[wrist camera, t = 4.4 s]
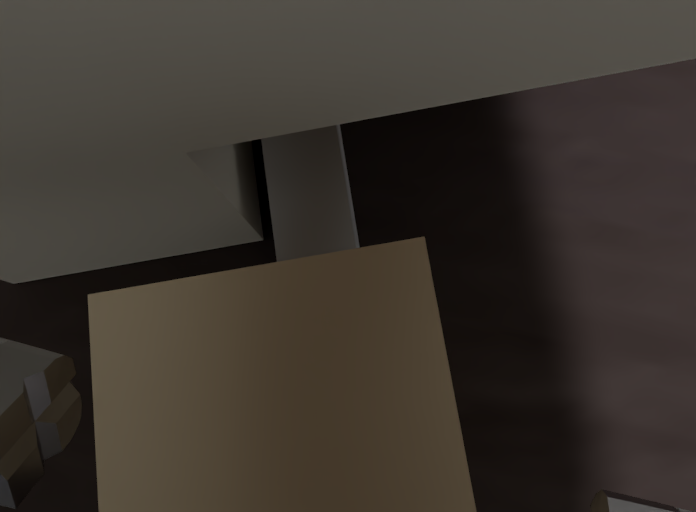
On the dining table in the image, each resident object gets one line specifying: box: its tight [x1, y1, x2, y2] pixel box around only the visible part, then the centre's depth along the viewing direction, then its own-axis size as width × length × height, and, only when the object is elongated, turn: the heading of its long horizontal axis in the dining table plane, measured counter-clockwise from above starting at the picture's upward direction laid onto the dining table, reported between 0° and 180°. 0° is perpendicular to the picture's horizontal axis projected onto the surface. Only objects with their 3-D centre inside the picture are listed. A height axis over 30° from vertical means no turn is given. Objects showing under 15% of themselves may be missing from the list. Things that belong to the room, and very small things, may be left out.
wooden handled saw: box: [88, 124, 476, 512], centre depth 13 cm, size 4×21×9 cm, turn 8°
